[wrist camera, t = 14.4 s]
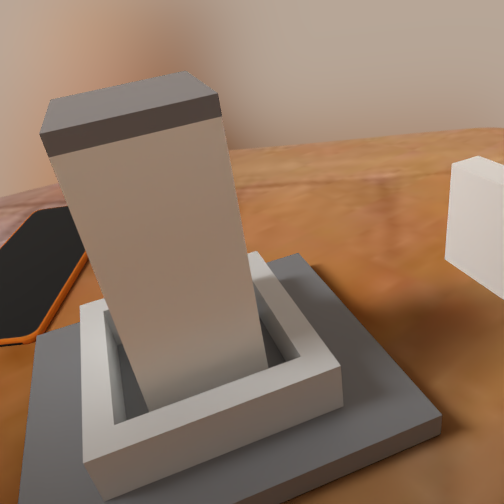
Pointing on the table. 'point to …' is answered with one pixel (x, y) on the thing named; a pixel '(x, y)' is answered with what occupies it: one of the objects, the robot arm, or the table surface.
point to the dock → (220, 409)
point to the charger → (161, 229)
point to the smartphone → (37, 273)
